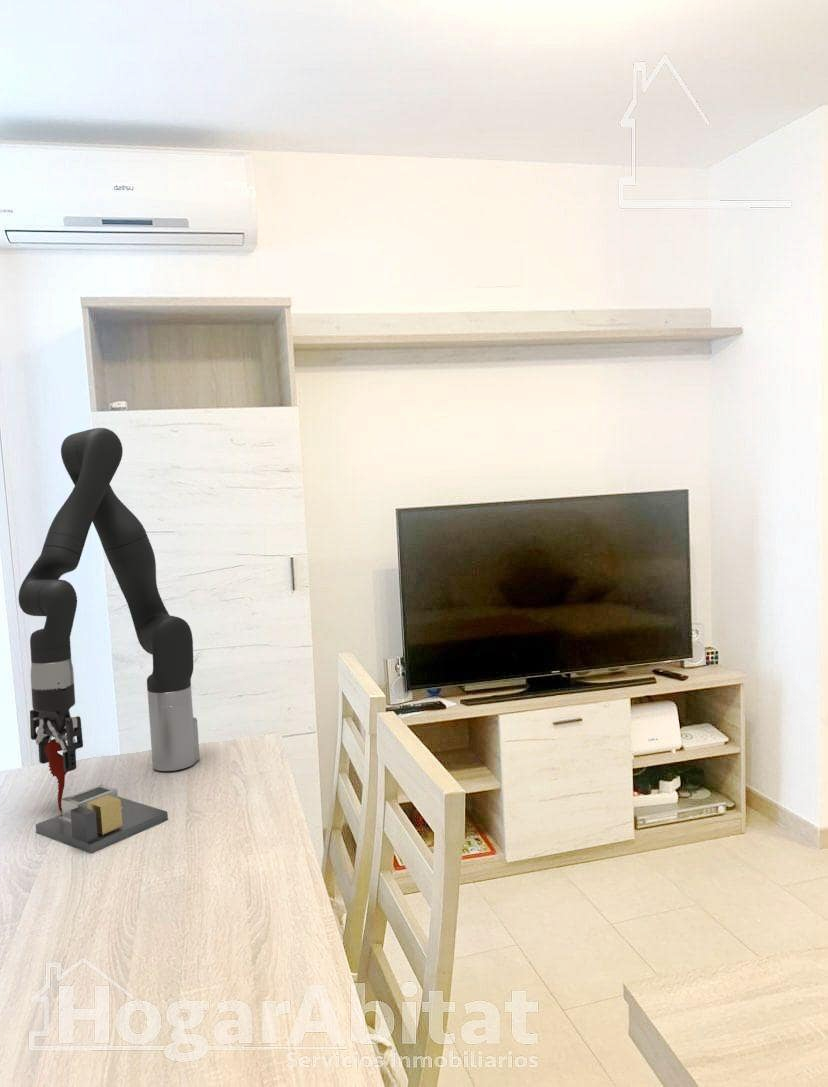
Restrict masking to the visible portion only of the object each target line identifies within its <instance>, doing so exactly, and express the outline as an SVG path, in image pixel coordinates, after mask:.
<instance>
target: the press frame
mask: <svg viewBox="0 0 828 1087" xmlns="http://www.w3.org/2000/svg"><path fill="white" fill-rule="evenodd" d="M106 795H109V796H112V797H115V798H118V799H121V812H122V825H123V827H120V828H118V829H116V830H113V831H111V832H108V833H106V834H104V835H101V834H99V833H97V822H96V811H94V810H91V809H88V808H87V803H88V802H90V801H93V800H95V799H98V798H101V797H103V796H106ZM61 808H62V812H61V813H62V814H60V815H57V816H53V817H51V818H49V819H46V820H43V821H41V822H38V823H35V831H36V832H35V833H37V834H39V835H42V836H45V837H47V838H50V839H53V840H54V841H58V842H60V843H63V844H65V845H68V846H71V847H73V848H76V849H78V850H81V851H84V852H86V853H89V854H92V853H95V852H96V851H99V850H103V849H104V848H106V847H108V846H110V845H113V844H115V843H117V842H118V843H119V841H122V840H125V839H127V838H128V837H131V836H133V835H136V834H138V833H141V832H142V831H145V830H147V829H149V828H152V827H154V826H156V825H159V824H161V823H163V822H165V821H168V820H169V817H168V815H169V814H168V811H167V810H163V809H161V808H157V807H154V806H150V805H147V804H143V803H140V802H137V801H134V800H132V799H131V800H130V799H127V798H125V797H122V796H118V789H116V788H112V787H109V786H106V785H103V784H99V785H96V786H94V787H91V788H89V789H86V790H83V791H80V792H78V793H74V794H72V795H70V796H67V797H64V798H63V797H62V799H61Z"/></svg>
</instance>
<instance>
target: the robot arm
mask: <svg viewBox="0 0 828 1087" xmlns="http://www.w3.org/2000/svg"><path fill="white" fill-rule="evenodd" d="M123 450H124V449H123V444H122V441H121V439H120V438H119V436H118V435H117V433H115V432H114V431H113V430H111V429H109V428H105V427H95V428H91V429H90V428H89V429H86V430H83V431H79V432H75V433H72V434H68V436H67V437H65V438H64V440H63V441H62V443H61V446H60V454H61V460H62V463H63V465H64V467H65V470H66V472H67V474H68V475H69V477H70V478H69V479H71V481H72V483H73V485H74V487H73V488H72V491H71V492H70V494H69V495H68V497H67V498H66V500H65V501H64V503H63V504H62V506H61V507H60V509H59V510H58V511H57V513H56V514H55V516H54V518H53V519H52V521H51V524H50V526H49V528H48V531H47V534H46V537H45V540H44V542H43V546H42V549H41V553H40V555H39V556H38V558H37V559H36V561H35V562H34V564H33V565H32V567H31V569H30V570H29V571H28V573H27V574H26V576H25V578H24V580H22V583H21V586H20V588H19V589H18V590H19V591H18V597H17V598H18V604H19V607H20V609H21V610H22V612H23V613H24V614H26V615H27V616H32V617H45V619H46V620H45V623H44V626H43V628H40V629H37V630H35V631H33V632H32V633H31V635H30V636H29V637H30V639H29V647H30V663H31V665H30V687H31V688H30V690H31V705H32V709H31V710H30V711H29V718H30V719H29V723H30V724H29V726H30V727H29V730H30V739H31V740H32V741H34V740H35V744H36V745H37V746H38V762H39V763H40V764H43V765H44V764H48V763H49V761H47V760H48V759H49V758H48V757H46V756H47V754H46V753H45V752H44V751H45V747H46V746H47V744H48V742H50V740H52V738H53V739H55V740H56V742H57V743H60V745H61V747H62V755H63V768H64V771H67V773H69V772H71V771H74V770H76V769H77V752H76V751H77V750H78V749H81V748H83V746H84V740H83V730H82V719H81V716H80V715H78V716H71V713H70V709H71V708H72V707H74V706H75V705H76V692H75V677H74V676H75V675H74V673H75V672H74V667H73V666H74V665H73V663H72V649H71V648H72V647H71V635H72V630H73V628H74V627H73V626H74V620H75V618H76V617H75V616H76V612H77V606H78V595H77V592H76V590H75V588H74V586H73V585H72V584H71V582H70V581H67V580H64V579H60V578H61V577H62V576H64V575H65V574H68V573H70V572H73V571H75V570H76V569H77V567H78V566H79V563H80V560H81V557H82V554H83V551H84V549H85V548H84V547H85V544H86V541H87V537H88V536H89V531H90V528H91V526H92V524H93V527H94V528H95V530H96V532H97V533H96V534H97V535H98V538H99V540H100V544H101V546H102V548H103V551H104V554H105V557H106V558H107V561H108V563H109V565H110V567H111V569H112V572H113V575H114V576H115V579H116V581H117V583H118V585H119V586H118V587H119V588H120V590H121V593H122V595H123V597H124V599H125V601H126V603H127V608H128V609H129V610H128V611H129V613H130V616H131V619H132V623H133V626H134V627H133V628H134V630H135V634H136V638H137V640H138V643H139V645H140V647H141V648H142V650H144V651H145V652H146V653H147V654H148V655H152V673H151V674H150V675H149V676H148V677H146V689H147V690H146V692H147V701H148V702H147V703H148V704H147V705H148V716H149V718H148V719H149V730H150V731H149V732H150V746H151V759H152V768H153V769H154V770H155V771H160V772H172V771H179V770H183V769H186V768H189V767H191V766H193V765H194V764H196V762H197V761H200V760H201V759H200V744H199V728H198V718H196V717H194V708H193V695H192V682H191V681H192V676H193V673H194V640H193V639H194V638H193V633H192V629H191V626H190V625H189V623H188V622H187V621H186V620H185V619H183V618H181V617H180V616H175V615H170V613H169V611H168V610H167V608H166V606H165V604H164V602H163V600H162V597H161V595H160V593H159V588H158V584H157V564H156V557H155V556H156V555H155V552H154V549H153V546H152V543H151V541H150V539H149V536H148V534H147V532H146V529H145V527H144V526H143V523H142V522H141V521H140V520H139V519H138V517H137V516H136V515H135V514H134V513H133V512H132V511H131V510H130V509H129V508H128V507H127V506H126V505H125V504H124V503H123V502H122V501H121V499H120V498H118V496H117V495H116V492H114V490H113V488H112V486H111V482H112V480H113V478H114V476H115V475H116V473H117V470H118V468H119V467H120V464H121V461H122V459H123ZM75 737H76V738H75ZM65 741H66V742H65ZM66 743H67V744H66ZM68 771H69V772H68Z"/></svg>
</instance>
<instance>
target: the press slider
mask: <svg viewBox="0 0 828 1087" xmlns="http://www.w3.org/2000/svg"><path fill="white" fill-rule="evenodd" d="M87 808H88V809H91V810H94V811H96V822H97V833H99V834H101V835H104V834H106V833H108V832H111V831H113V830H116V829H118V828H120V827H123V825H122V812H121V799H118V798H115V797H112V796H109V795H106V796H103V797H101V798H98V799H95V800H93V801H90V802H88V803H87Z"/></svg>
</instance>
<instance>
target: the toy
mask: <svg viewBox="0 0 828 1087" xmlns="http://www.w3.org/2000/svg"><path fill="white" fill-rule="evenodd" d="M65 742H66V744H67V741H65ZM44 752H45V753H46V754H47V756H46V757H48V758H49V759H48V760H47V761H49V762H48V763H47V764H48V766H47V767H49V770H48V771H50V774H51V775H52V777H53V778H54V777H55V779H56V780H57V782H56V783H57V787H58V788H57V790H58V792H57V805H58V806H57V807H58V810H59V812H60V813H62V802H61V799H63V795H64V789H65V782H66V779H65V778H66V775H67V773H69V772H70V771H68V772H67V771H64V768H63V754H62V753H59V752H63V750H62V747H61V745H60V743H57V742H56V740H55V738H53V739H51V740H50V741H49V742H48V744H47V746H46V747H45V751H44Z"/></svg>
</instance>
